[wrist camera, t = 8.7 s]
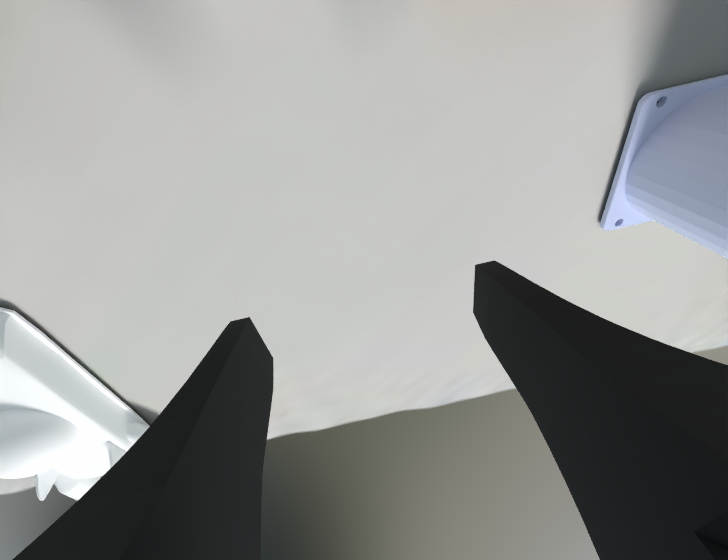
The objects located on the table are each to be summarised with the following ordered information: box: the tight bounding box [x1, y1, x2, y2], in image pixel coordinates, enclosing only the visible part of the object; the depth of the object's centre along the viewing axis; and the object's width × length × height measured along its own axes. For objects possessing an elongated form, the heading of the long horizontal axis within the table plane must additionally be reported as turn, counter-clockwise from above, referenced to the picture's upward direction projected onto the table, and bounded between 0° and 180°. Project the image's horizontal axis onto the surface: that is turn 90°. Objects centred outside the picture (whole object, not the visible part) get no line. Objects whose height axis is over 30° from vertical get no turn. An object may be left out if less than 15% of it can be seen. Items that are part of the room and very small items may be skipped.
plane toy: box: [0, 307, 150, 501], centre depth 22 cm, size 10×20×6 cm, turn 12°
